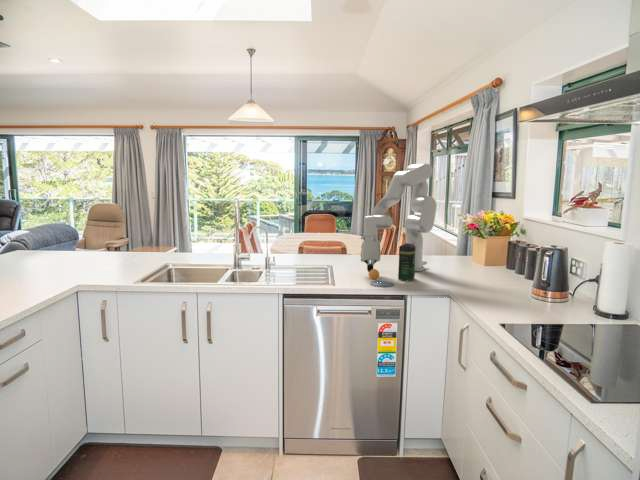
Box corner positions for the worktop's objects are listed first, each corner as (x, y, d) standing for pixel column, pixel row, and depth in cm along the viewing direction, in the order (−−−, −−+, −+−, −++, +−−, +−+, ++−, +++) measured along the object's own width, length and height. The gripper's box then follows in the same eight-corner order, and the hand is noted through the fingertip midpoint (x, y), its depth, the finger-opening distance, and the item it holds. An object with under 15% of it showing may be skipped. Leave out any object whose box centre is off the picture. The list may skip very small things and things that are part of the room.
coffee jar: (411, 281, 206) (412, 245, 204) (396, 280, 210) (397, 244, 207) (416, 277, 215) (417, 243, 212) (401, 276, 218) (402, 242, 216)
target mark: (381, 280, 210) (381, 279, 210) (399, 284, 200) (399, 284, 200) (364, 283, 203) (364, 283, 203) (382, 288, 193) (382, 288, 193)
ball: (375, 283, 211) (373, 276, 215) (382, 276, 208) (380, 269, 213) (367, 279, 209) (365, 272, 213) (374, 272, 206) (372, 265, 210)
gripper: (358, 239, 216) (358, 273, 218) (386, 239, 218) (385, 272, 220) (355, 238, 223) (355, 270, 226) (381, 237, 225) (381, 270, 228)
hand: (370, 271), depth 223 cm, fingers closed
